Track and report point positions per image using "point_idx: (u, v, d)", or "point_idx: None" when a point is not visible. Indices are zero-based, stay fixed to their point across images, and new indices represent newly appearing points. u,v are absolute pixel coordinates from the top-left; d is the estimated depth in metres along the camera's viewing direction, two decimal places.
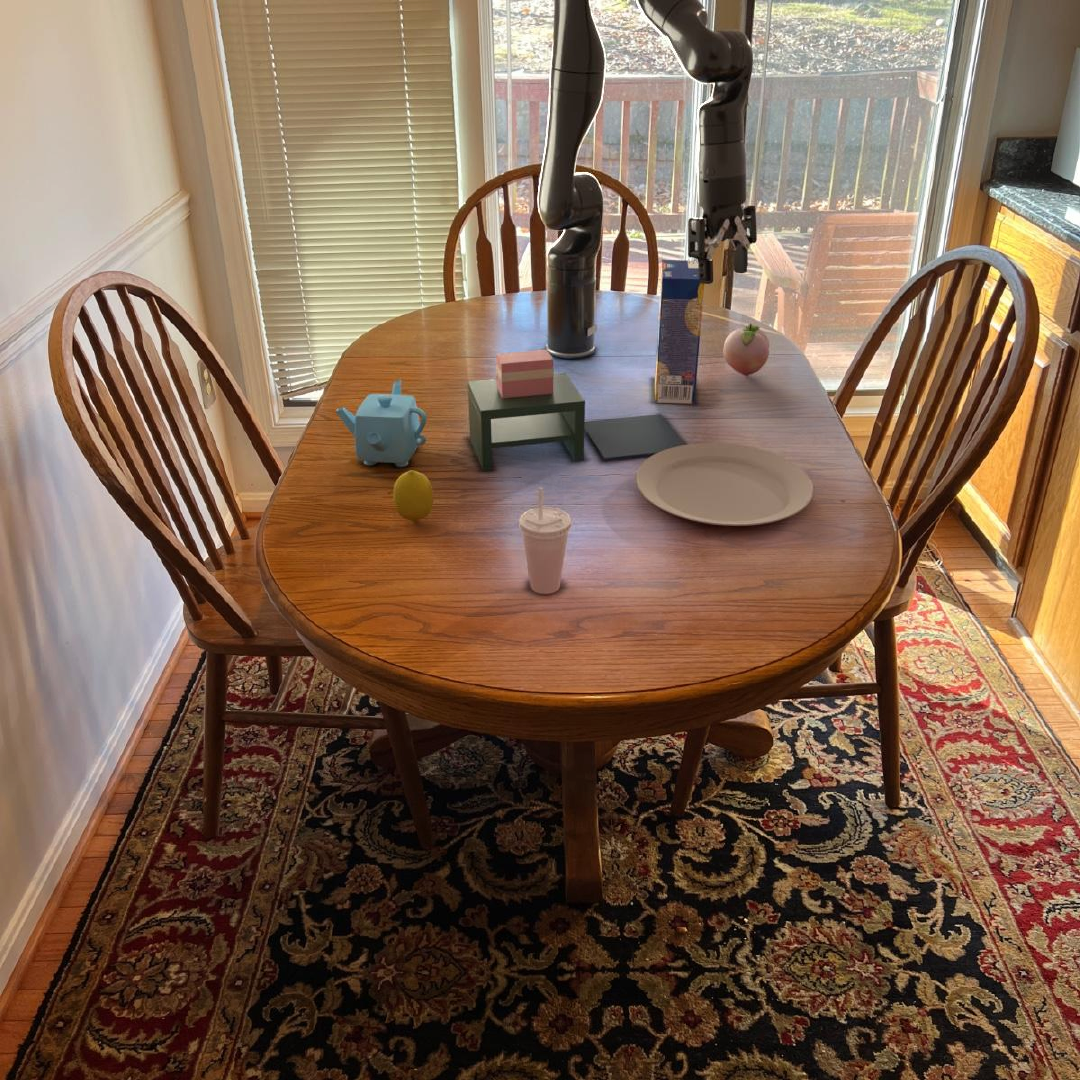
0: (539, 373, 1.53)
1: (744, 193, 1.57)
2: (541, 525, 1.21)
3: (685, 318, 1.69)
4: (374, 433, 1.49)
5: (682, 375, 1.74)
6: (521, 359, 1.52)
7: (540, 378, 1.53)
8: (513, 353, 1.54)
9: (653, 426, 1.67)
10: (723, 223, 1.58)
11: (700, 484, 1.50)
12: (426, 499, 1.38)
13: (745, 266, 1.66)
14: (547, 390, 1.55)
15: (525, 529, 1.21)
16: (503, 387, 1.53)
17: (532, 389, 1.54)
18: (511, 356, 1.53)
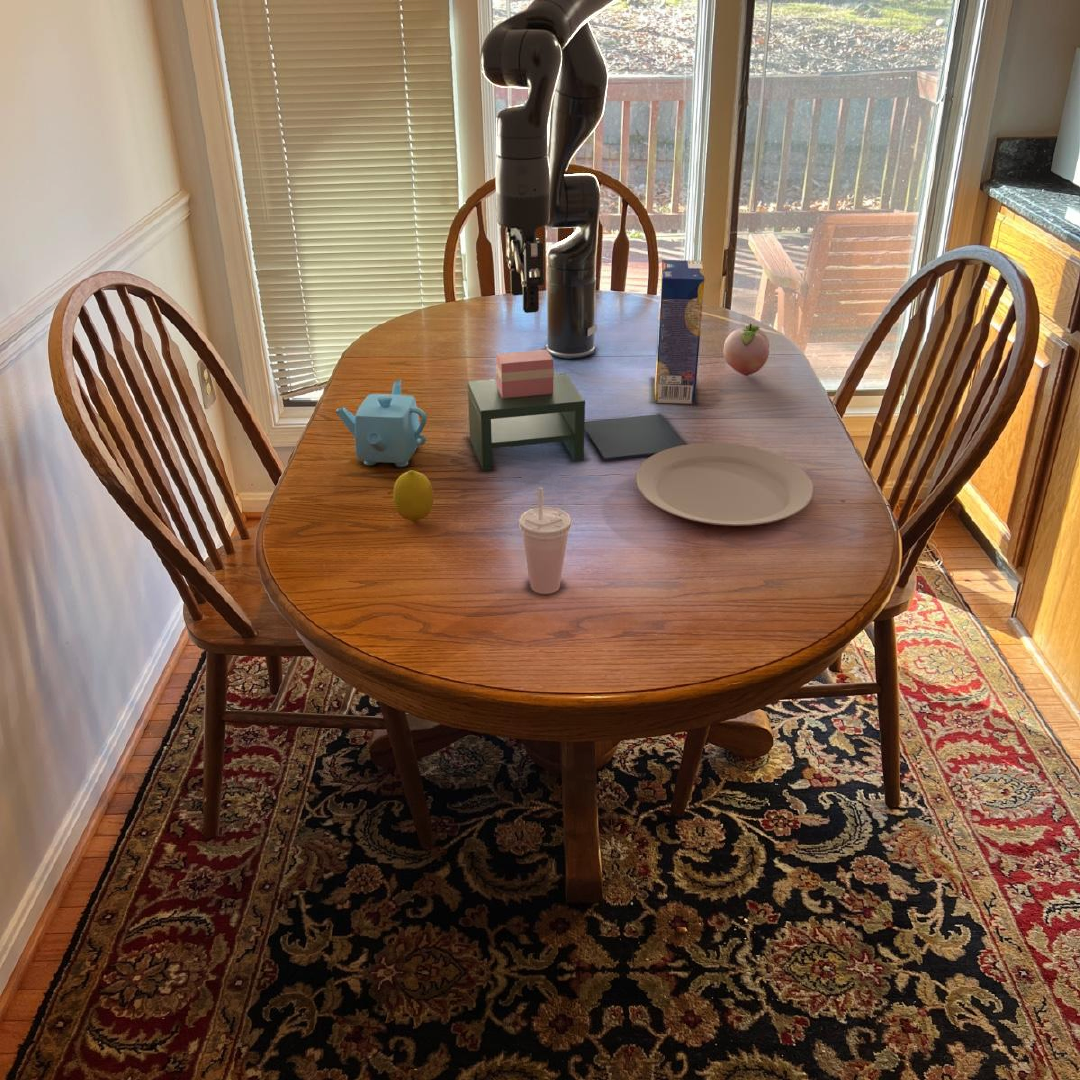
0: (539, 373, 1.53)
1: (500, 215, 1.41)
2: (541, 525, 1.21)
3: (685, 318, 1.69)
4: (374, 433, 1.49)
5: (682, 375, 1.74)
6: (521, 359, 1.52)
7: (540, 378, 1.53)
8: (513, 353, 1.54)
9: (653, 426, 1.67)
10: None
11: (700, 484, 1.50)
12: (426, 499, 1.38)
13: (523, 304, 1.45)
14: (547, 390, 1.55)
15: (525, 529, 1.21)
16: (503, 387, 1.53)
17: (532, 389, 1.54)
18: (511, 356, 1.53)
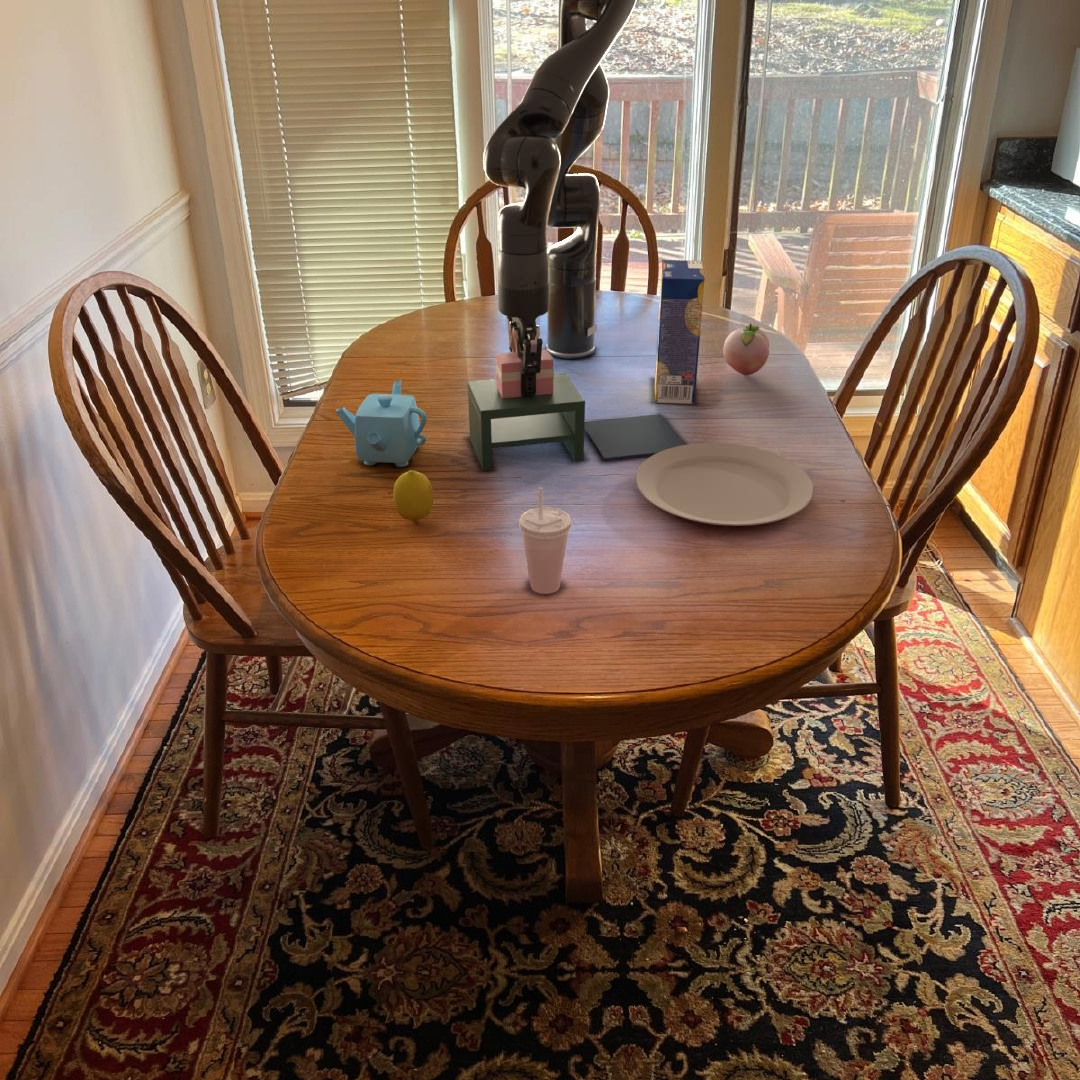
0: (539, 373, 1.53)
1: (501, 305, 1.47)
2: (541, 525, 1.21)
3: (685, 318, 1.69)
4: (374, 433, 1.49)
5: (682, 375, 1.74)
6: None
7: (540, 378, 1.53)
8: (513, 353, 1.54)
9: (653, 426, 1.67)
10: None
11: (700, 484, 1.50)
12: (426, 499, 1.38)
13: (521, 389, 1.53)
14: (547, 390, 1.54)
15: (525, 529, 1.21)
16: (503, 387, 1.53)
17: None
18: (511, 356, 1.53)
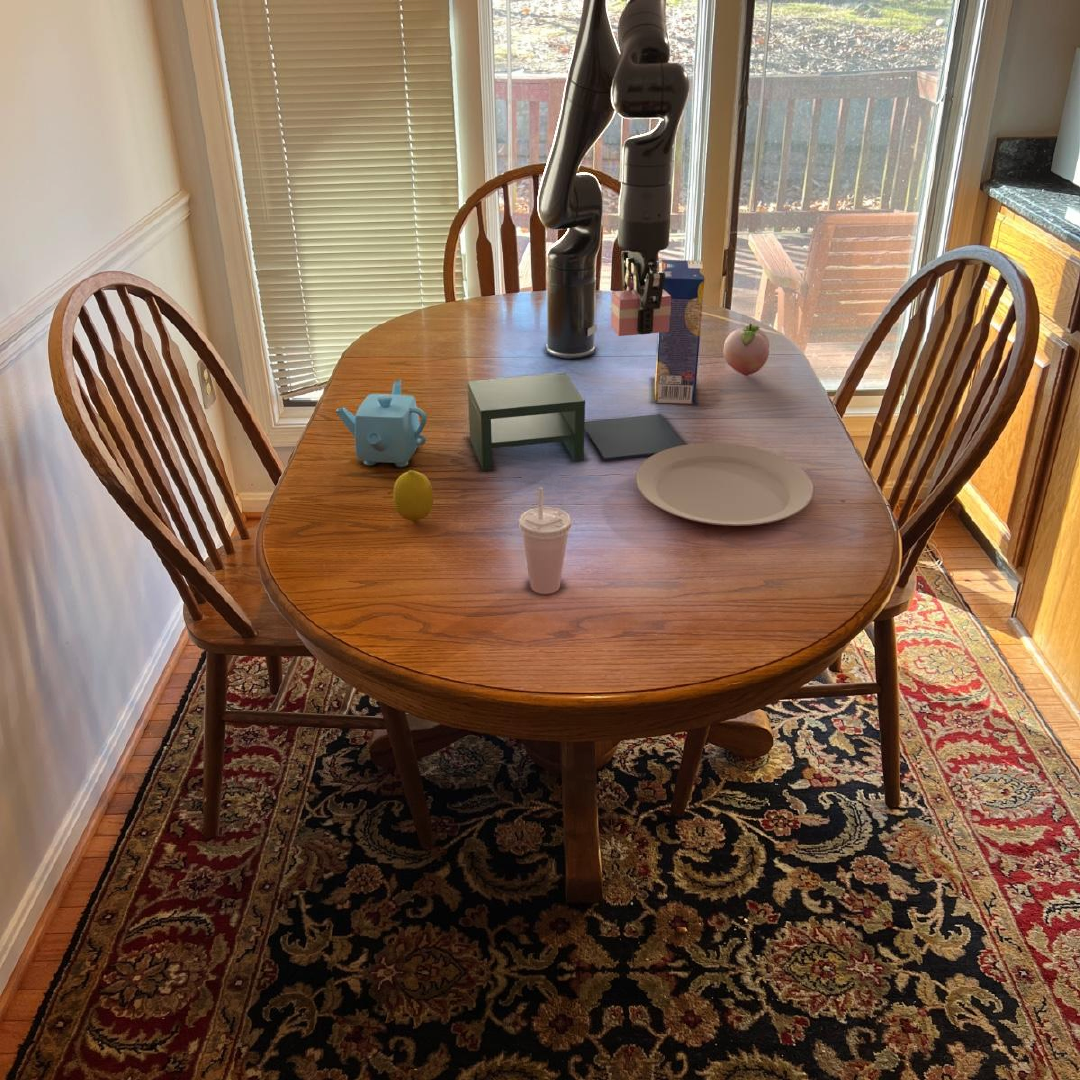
0: (656, 310, 1.52)
1: (622, 240, 1.46)
2: (541, 525, 1.21)
3: (685, 318, 1.69)
4: (374, 433, 1.49)
5: (682, 375, 1.74)
6: None
7: (657, 315, 1.52)
8: (629, 291, 1.53)
9: (653, 426, 1.67)
10: (626, 262, 1.51)
11: (700, 484, 1.50)
12: (426, 499, 1.38)
13: (638, 326, 1.52)
14: (663, 328, 1.54)
15: (525, 529, 1.21)
16: (620, 324, 1.52)
17: None
18: (628, 294, 1.52)
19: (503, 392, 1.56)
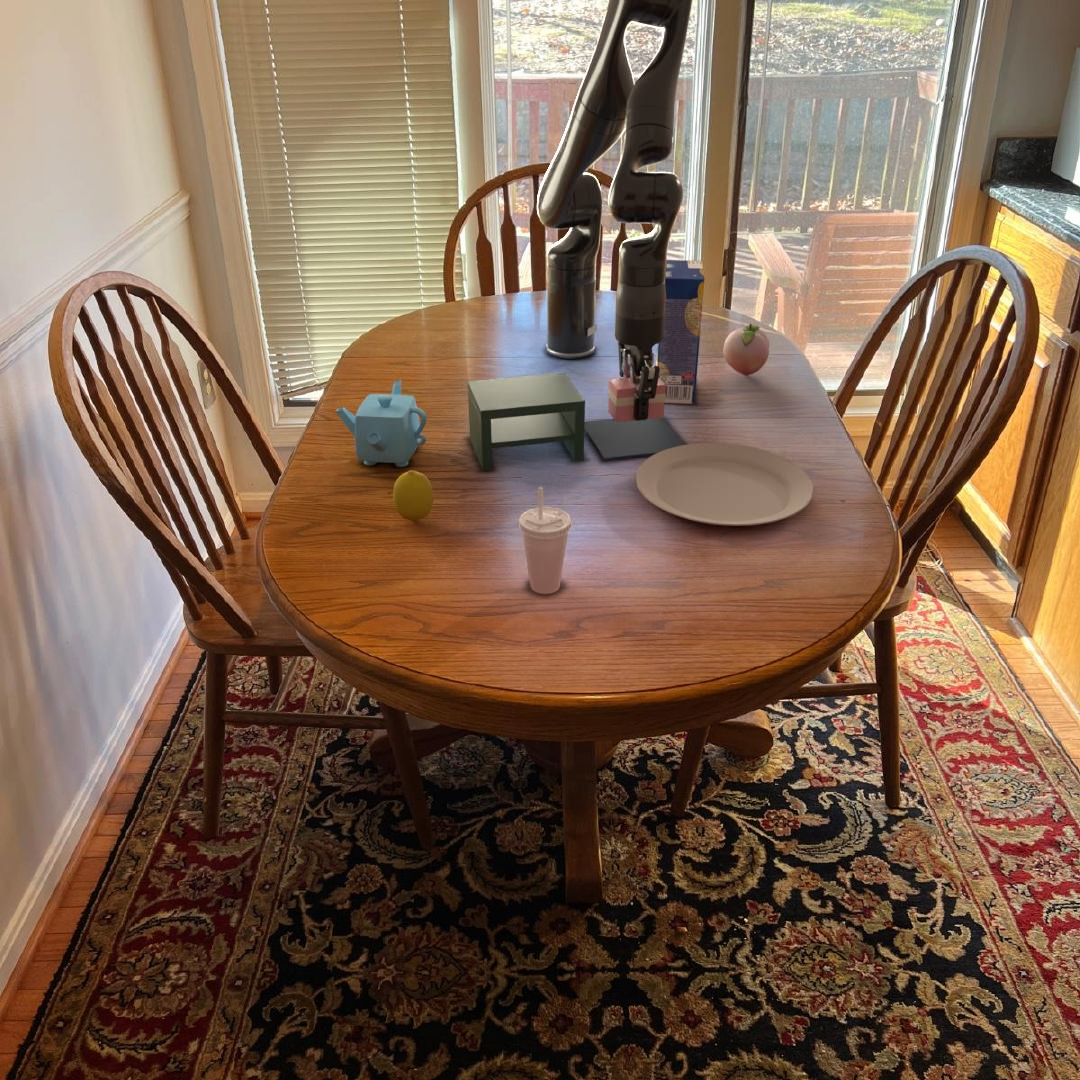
0: None
1: (619, 334, 1.54)
2: (541, 525, 1.21)
3: (685, 318, 1.69)
4: (374, 433, 1.49)
5: (682, 375, 1.74)
6: None
7: (652, 402, 1.60)
8: (625, 379, 1.61)
9: (653, 426, 1.67)
10: (623, 352, 1.59)
11: (700, 484, 1.50)
12: (426, 499, 1.38)
13: (634, 413, 1.59)
14: (658, 414, 1.61)
15: (525, 529, 1.21)
16: (617, 411, 1.59)
17: None
18: (625, 382, 1.59)
19: (503, 392, 1.56)
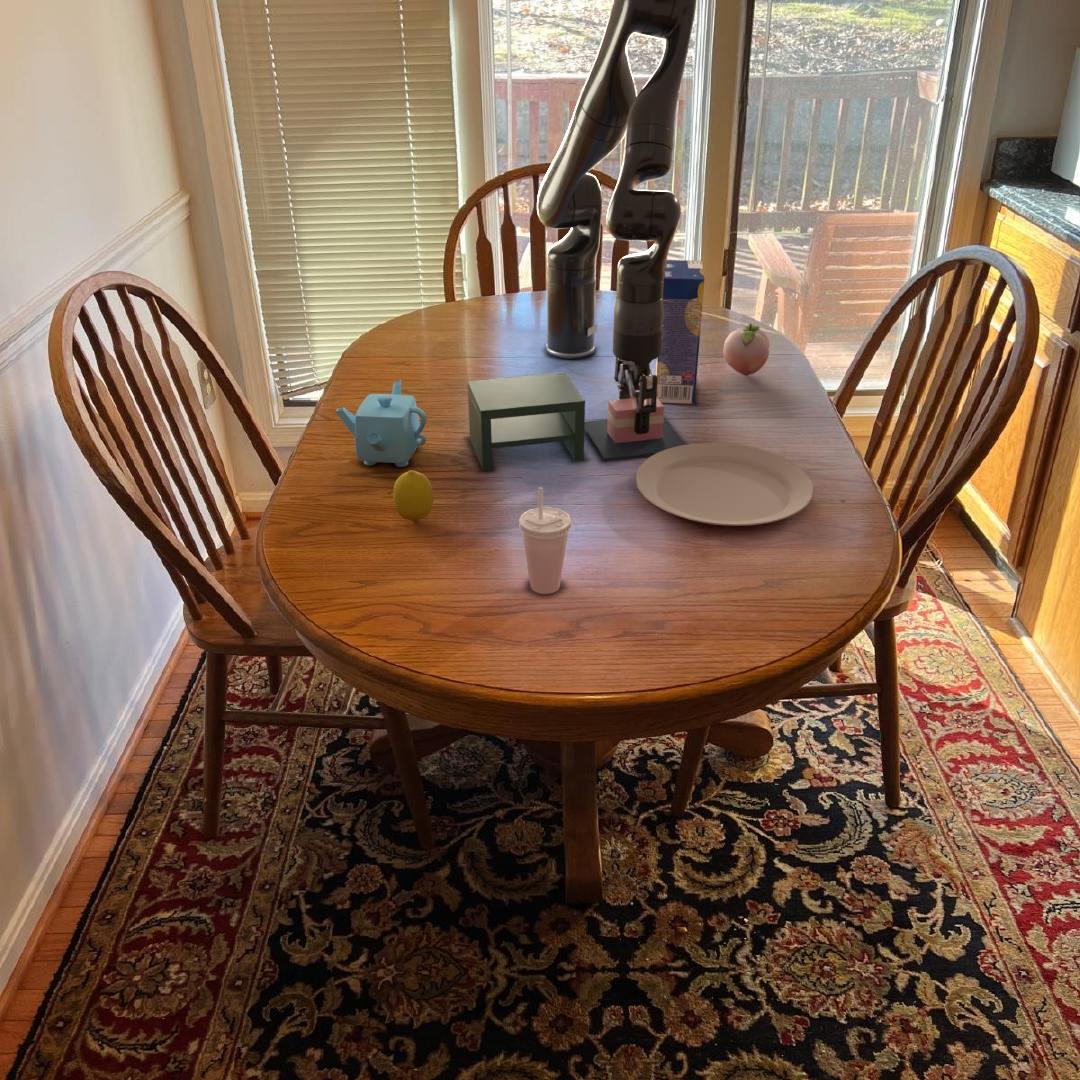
0: (650, 419, 1.61)
1: (617, 349, 1.55)
2: (541, 525, 1.21)
3: (685, 318, 1.69)
4: (374, 433, 1.49)
5: (682, 375, 1.74)
6: (633, 406, 1.60)
7: (651, 424, 1.61)
8: (624, 400, 1.63)
9: None
10: (621, 366, 1.60)
11: (700, 484, 1.50)
12: (426, 499, 1.38)
13: (634, 427, 1.59)
14: (656, 435, 1.63)
15: (525, 529, 1.21)
16: (616, 433, 1.61)
17: (643, 434, 1.62)
18: (624, 404, 1.61)
19: (503, 392, 1.56)
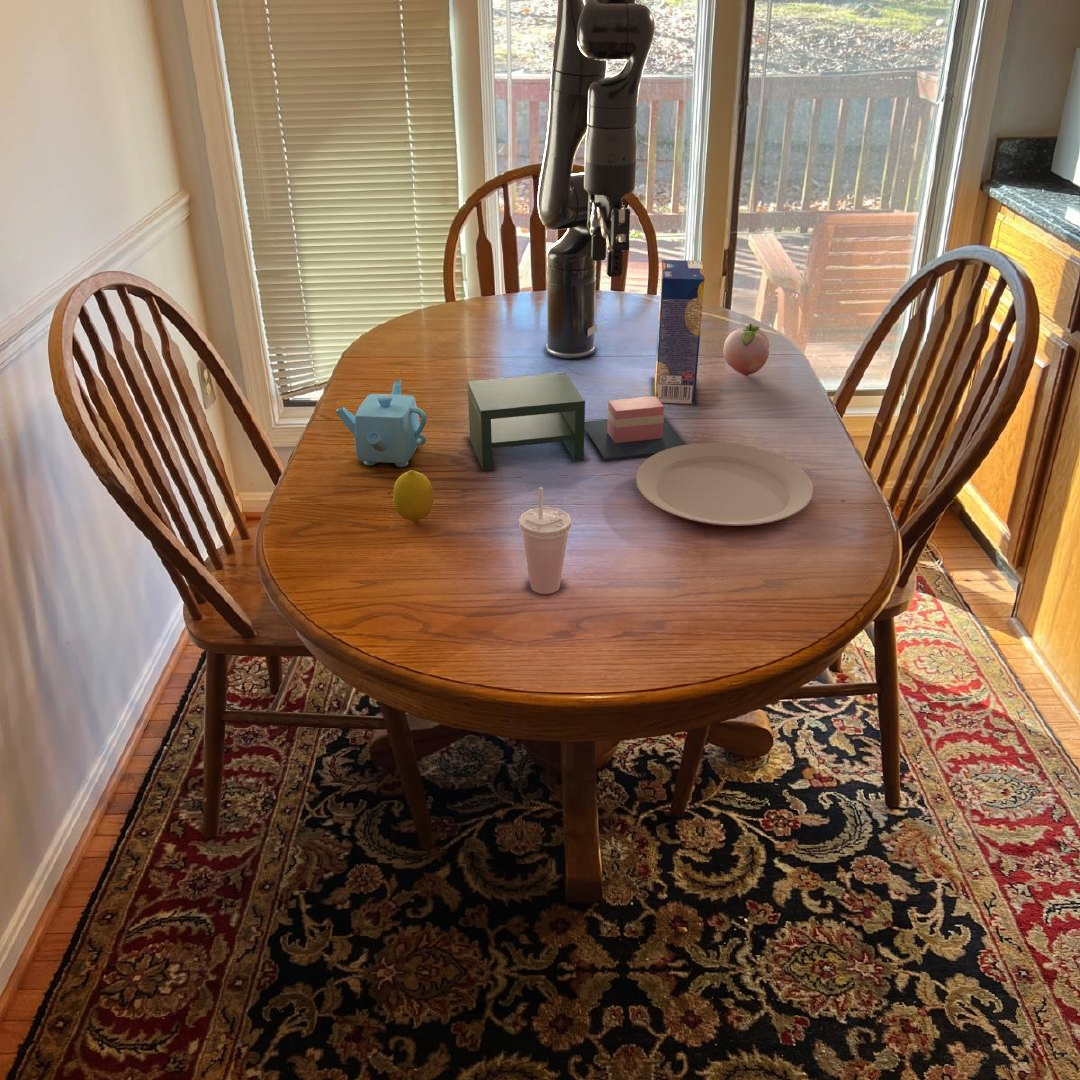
0: (650, 419, 1.61)
1: (588, 183, 1.47)
2: (541, 525, 1.21)
3: (685, 318, 1.69)
4: (374, 433, 1.49)
5: (682, 375, 1.74)
6: (633, 406, 1.60)
7: (651, 424, 1.61)
8: (624, 400, 1.63)
9: None
10: (593, 205, 1.52)
11: (700, 484, 1.50)
12: (426, 499, 1.38)
13: (607, 269, 1.52)
14: (656, 435, 1.63)
15: (525, 529, 1.21)
16: (616, 433, 1.61)
17: (643, 434, 1.62)
18: (624, 404, 1.61)
19: (503, 392, 1.56)
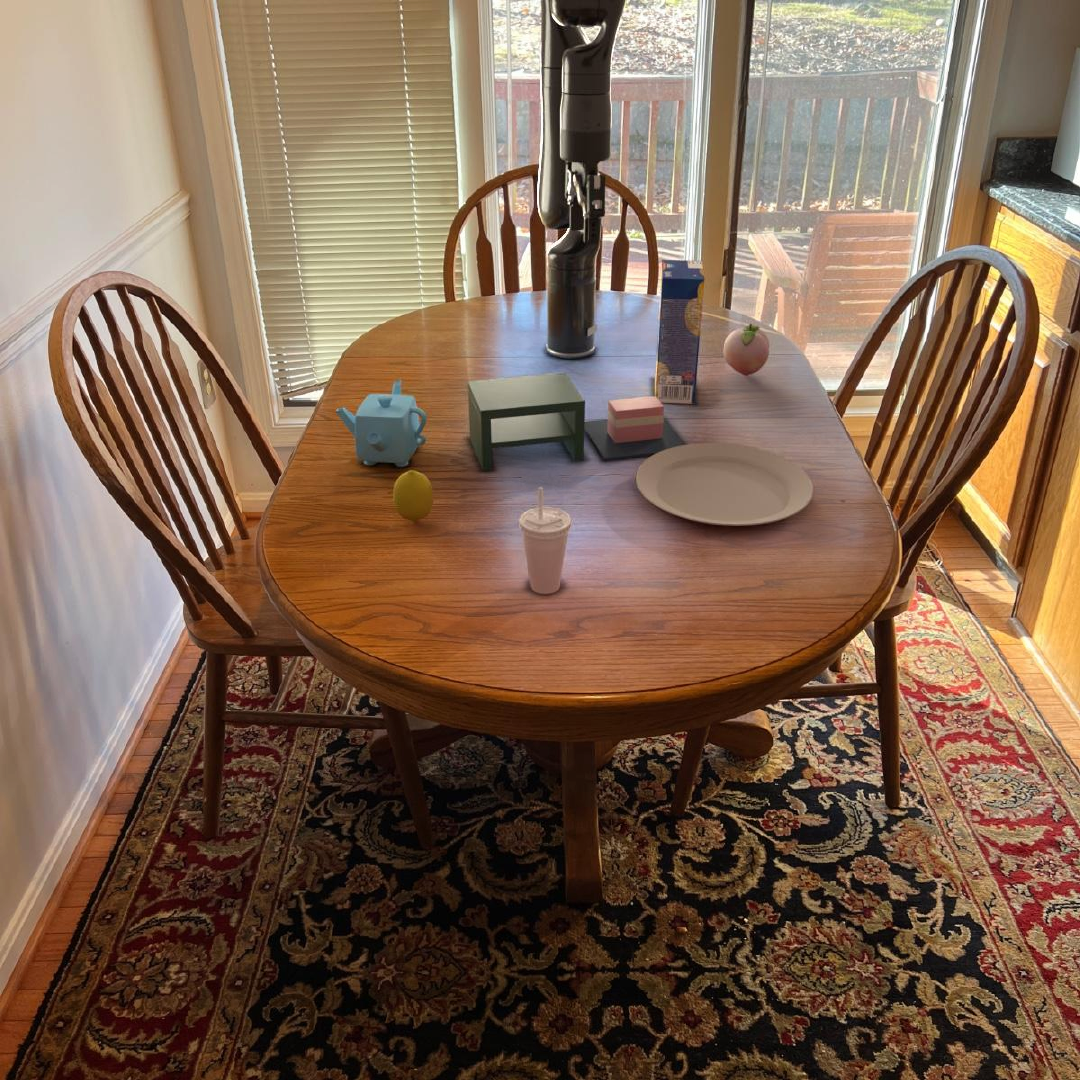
0: (650, 419, 1.61)
1: (564, 150, 1.49)
2: (541, 525, 1.21)
3: (685, 318, 1.69)
4: (374, 433, 1.49)
5: (682, 375, 1.74)
6: (633, 406, 1.60)
7: (651, 424, 1.61)
8: (624, 400, 1.63)
9: None
10: (569, 174, 1.54)
11: (700, 484, 1.50)
12: (426, 499, 1.38)
13: (584, 236, 1.53)
14: (656, 435, 1.63)
15: (525, 529, 1.21)
16: (616, 433, 1.61)
17: (643, 434, 1.62)
18: (624, 404, 1.61)
19: (503, 392, 1.56)
